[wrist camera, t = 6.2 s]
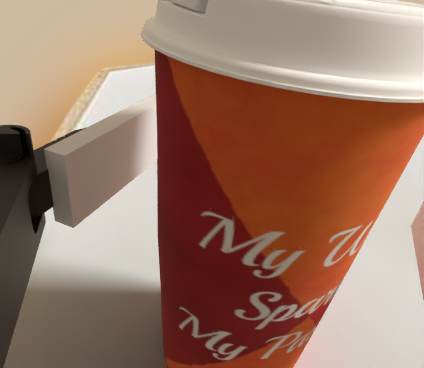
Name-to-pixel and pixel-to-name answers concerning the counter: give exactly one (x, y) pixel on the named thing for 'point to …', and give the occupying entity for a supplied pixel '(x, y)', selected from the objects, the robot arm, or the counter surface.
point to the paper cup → (274, 162)
